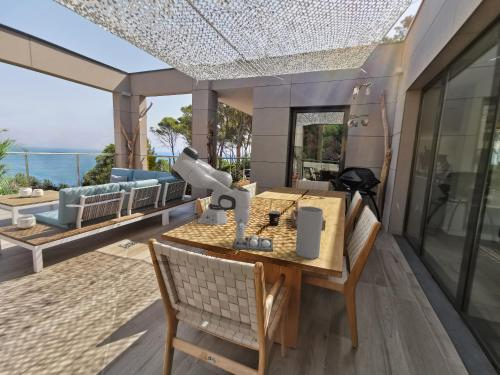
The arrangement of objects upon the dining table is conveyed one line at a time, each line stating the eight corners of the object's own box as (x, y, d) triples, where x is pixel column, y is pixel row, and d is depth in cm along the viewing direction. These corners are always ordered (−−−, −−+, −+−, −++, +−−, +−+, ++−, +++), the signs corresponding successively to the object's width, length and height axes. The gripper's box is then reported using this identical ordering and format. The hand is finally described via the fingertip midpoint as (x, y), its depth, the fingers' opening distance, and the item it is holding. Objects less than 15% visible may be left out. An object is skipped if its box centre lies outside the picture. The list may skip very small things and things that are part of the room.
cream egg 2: (249, 248, 124) (249, 240, 123) (249, 245, 128) (250, 237, 128) (257, 249, 123) (257, 241, 123) (257, 245, 128) (258, 238, 127)
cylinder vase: (323, 258, 116) (327, 212, 112) (300, 259, 114) (304, 212, 110) (312, 248, 128) (316, 206, 124) (292, 249, 126) (295, 206, 122)
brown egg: (244, 245, 124) (245, 237, 123) (236, 244, 124) (236, 236, 124) (245, 242, 128) (245, 235, 128) (237, 242, 129) (238, 234, 128)
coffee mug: (279, 223, 172) (280, 211, 170) (279, 227, 163) (280, 214, 162) (264, 222, 173) (264, 210, 171) (263, 226, 164) (264, 213, 163)
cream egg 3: (261, 249, 123) (261, 241, 123) (261, 245, 128) (262, 238, 127) (269, 249, 123) (270, 242, 122) (269, 246, 127) (270, 238, 127)
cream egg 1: (250, 243, 131) (250, 236, 130) (250, 240, 135) (251, 233, 135) (258, 244, 130) (258, 236, 130) (258, 240, 135) (258, 233, 134)
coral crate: (293, 228, 162) (294, 218, 161) (290, 218, 187) (291, 210, 186) (324, 230, 160) (325, 220, 159) (317, 219, 185) (318, 211, 184)
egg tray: (233, 249, 123) (233, 246, 123) (237, 239, 138) (237, 236, 138) (273, 252, 121) (273, 249, 121) (272, 241, 136) (272, 238, 136)
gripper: (245, 223, 113) (244, 248, 116) (249, 212, 134) (248, 234, 136) (233, 222, 114) (232, 247, 116) (238, 212, 134) (238, 233, 136)
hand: (241, 240), depth 126 cm, fingers closed on brown egg, 4 cm apart
